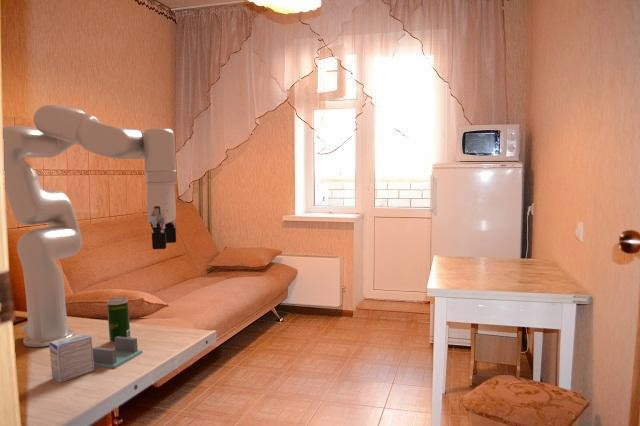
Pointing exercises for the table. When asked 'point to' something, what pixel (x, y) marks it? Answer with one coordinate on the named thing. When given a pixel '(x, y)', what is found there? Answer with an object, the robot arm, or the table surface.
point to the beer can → (118, 318)
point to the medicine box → (71, 357)
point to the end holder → (116, 353)
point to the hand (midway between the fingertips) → (165, 245)
